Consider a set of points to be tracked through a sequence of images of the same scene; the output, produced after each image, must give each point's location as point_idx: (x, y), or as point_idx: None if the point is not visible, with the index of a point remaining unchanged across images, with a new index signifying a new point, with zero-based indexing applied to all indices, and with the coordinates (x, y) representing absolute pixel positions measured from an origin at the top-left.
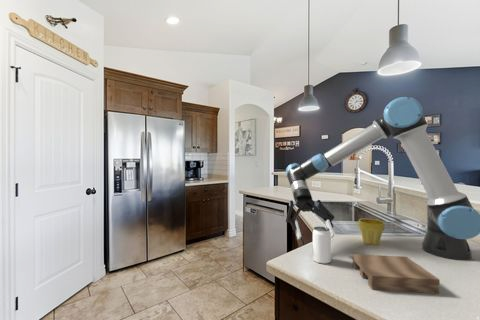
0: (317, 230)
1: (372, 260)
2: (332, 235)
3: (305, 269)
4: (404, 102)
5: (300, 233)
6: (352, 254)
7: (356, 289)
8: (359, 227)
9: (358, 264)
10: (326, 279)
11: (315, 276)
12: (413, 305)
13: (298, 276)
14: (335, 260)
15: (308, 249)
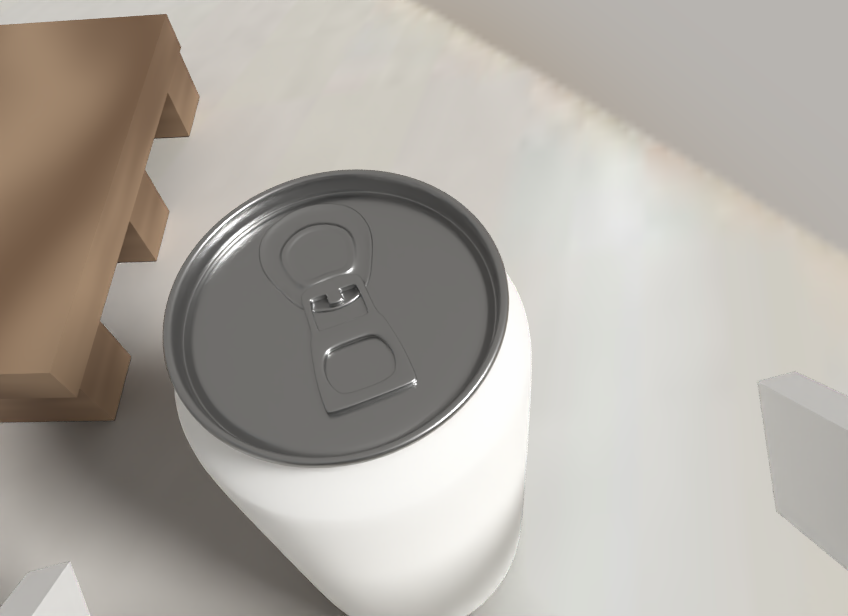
0: (452, 212)
1: None
2: (83, 597)
3: (625, 284)
4: None
5: (793, 397)
6: (52, 371)
7: (299, 82)
8: None
9: (117, 237)
10: (465, 158)
11: (545, 185)
12: (80, 10)
13: (690, 166)
14: (237, 544)
15: None
